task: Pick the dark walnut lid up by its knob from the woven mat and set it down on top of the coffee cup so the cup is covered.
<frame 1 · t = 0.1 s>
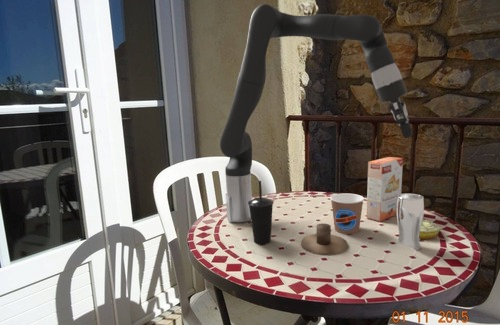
hand: (408, 135, 98), 31 cm above the table, tool tilted 20°, fingers open, 8 cm apart
drinking cup: (262, 245, 103), on the table
coffee cup: (346, 234, 109), on the table
decorated donut: (420, 234, 106), on the table
walnut lid: (323, 245, 98), point 1 cm above the table, touching woven mat
woven mat: (324, 252, 98), on the table, touching walnut lid
cracker box: (384, 216, 123), on the table
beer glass: (408, 247, 97), on the table
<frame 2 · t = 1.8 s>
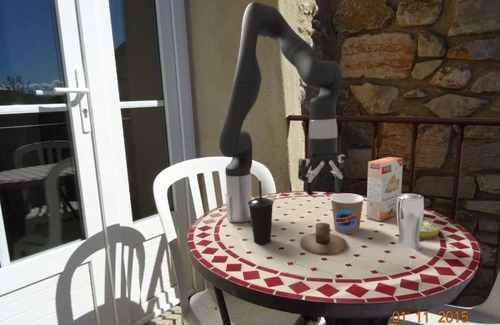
hand: (323, 193, 95), 17 cm above the table, tool pointing down, fingers open, 8 cm apart
nothing on the table moved.
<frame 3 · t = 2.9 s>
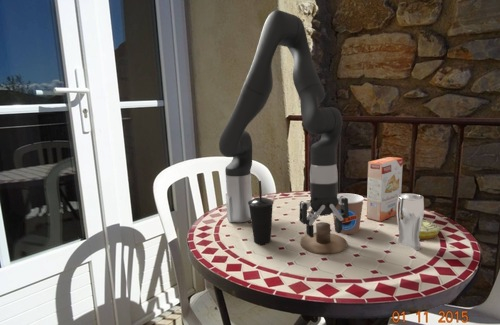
hand: (324, 234, 97), 4 cm above the table, tool pointing down, fingers open, 8 cm apart
nothing on the table moved.
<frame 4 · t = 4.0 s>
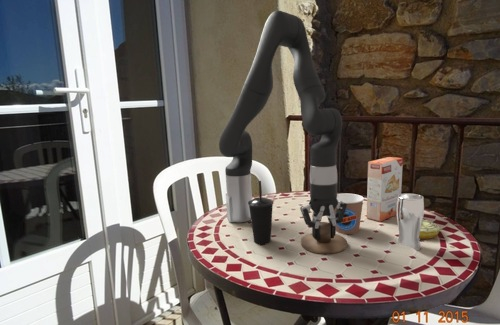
hand: (323, 238, 98), 3 cm above the table, tool pointing down, fingers closed on walnut lid, 4 cm apart
walnut lid: (323, 243, 98), point 1 cm above the table, touching gripper, woven mat
everything else where it was.
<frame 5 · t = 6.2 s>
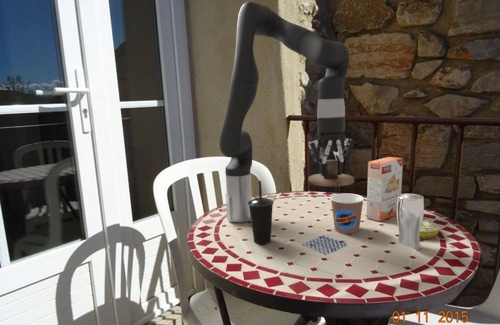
hand: (331, 175, 98), 21 cm above the table, tool pointing down, fingers closed on walnut lid, 4 cm apart
walnut lid: (330, 181, 98), point 19 cm above the table, touching gripper
woven mat: (324, 251, 98), on the table
everything else where it was.
when the fingers open (15 cm above the table, at t = 8.7 s): walnut lid stays where it is, resting on coffee cup.
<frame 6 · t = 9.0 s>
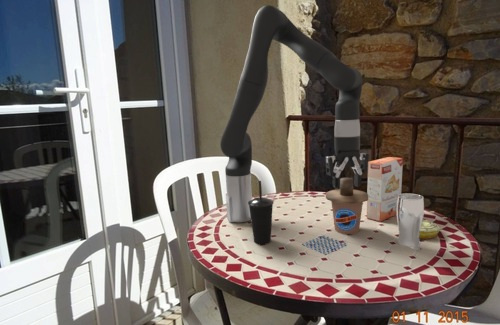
hand: (346, 187, 106), 15 cm above the table, tool pointing down, fingers open, 6 cm apart
coffee cup: (346, 234, 109), on the table, touching walnut lid
walnut lid: (346, 197, 107), point 12 cm above the table, touching coffee cup
everything else where it was.
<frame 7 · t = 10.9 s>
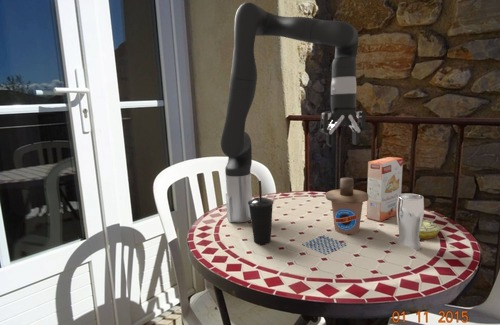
hand: (342, 145, 106), 28 cm above the table, tool pointing down, fingers open, 8 cm apart
nothing on the table moved.
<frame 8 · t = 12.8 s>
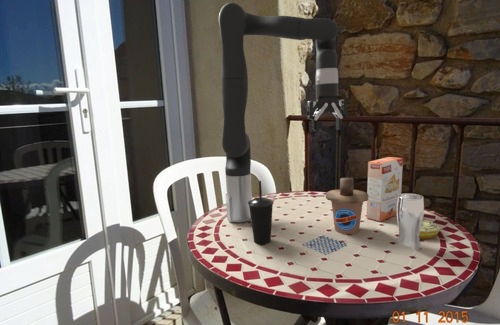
hand: (327, 130, 118), 32 cm above the table, tool pointing down, fingers open, 8 cm apart
nothing on the table moved.
at the end: walnut lid 0.2 cm off-centre on the coffee cup, point 12.2 cm above the coffee cup's base; walnut lid tilted 0°; coffee cup tilted 0° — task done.
